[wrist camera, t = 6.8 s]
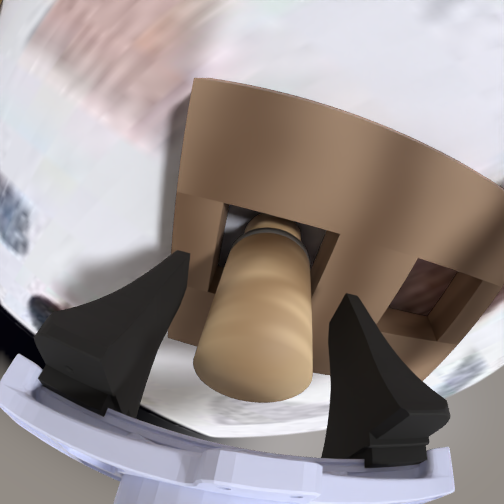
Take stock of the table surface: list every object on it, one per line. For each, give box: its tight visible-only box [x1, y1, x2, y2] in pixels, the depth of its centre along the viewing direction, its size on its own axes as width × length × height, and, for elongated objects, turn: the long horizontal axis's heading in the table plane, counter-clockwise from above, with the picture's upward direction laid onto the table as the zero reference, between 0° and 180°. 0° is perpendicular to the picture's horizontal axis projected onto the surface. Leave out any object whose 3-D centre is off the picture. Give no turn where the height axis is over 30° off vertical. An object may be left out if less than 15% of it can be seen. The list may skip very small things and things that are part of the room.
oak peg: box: [193, 213, 313, 403], centre depth 13 cm, size 4×4×9 cm
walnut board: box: [168, 78, 504, 381], centre depth 16 cm, size 20×16×2 cm
